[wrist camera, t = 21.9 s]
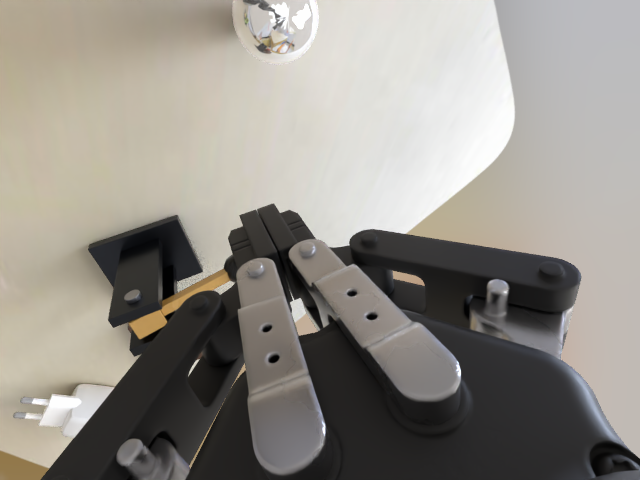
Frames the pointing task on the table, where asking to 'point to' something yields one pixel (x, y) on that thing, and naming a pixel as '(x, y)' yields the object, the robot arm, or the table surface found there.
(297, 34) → the light bulb
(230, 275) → the lever
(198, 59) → the table surface
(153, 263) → the switch bracket
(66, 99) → the table surface
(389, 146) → the table surface
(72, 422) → the power adapter
